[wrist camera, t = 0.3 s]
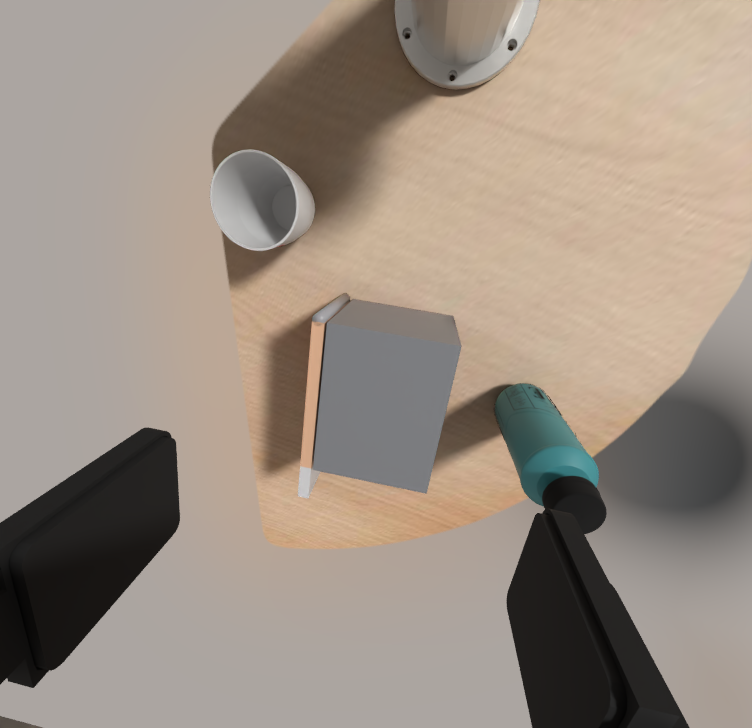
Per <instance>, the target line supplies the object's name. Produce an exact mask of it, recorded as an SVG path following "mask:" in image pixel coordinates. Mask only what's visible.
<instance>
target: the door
mask: <svg viewBox="0 0 752 728" xmlns="http://www.w3.org/2000/svg"><path fill="white" fill-rule="evenodd" d="M349 302H350V296H349V295H348V294H346V293H344V294H342V295H340V296H339V297H338V298H336V299H335V300H334V301H332V302H331V303H329V304H328V305H327V306H325V307H324V308H323V309H321V310H320V311H319V312H317V313H316V314H314V315H313V317H312V327H311V339H310V351H309V364H308V376H307V389H306V401H305V413H304V426H303V438H302V450H301V463H300V475H299V487H298V496H299V497H304V498H309V496H310V494H311V491H312V489H313V487H314V485H315V483H316V480H317V478H318V476H319V474H320V472H321V471H316V470H313V464H314V453H315V443H316V432H317V422H318V412H319V401H320V391H321V380H322V370H323V360H324V349H325V339H326V329H327V322H328V321H329V320H331V319H332V318H333V317H334V316H335V315H336V314H337V313H338V312H339V311H341V310H342V309H343V308H344V307H345V306H346V305H347V304H348V303H349Z"/></svg>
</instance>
